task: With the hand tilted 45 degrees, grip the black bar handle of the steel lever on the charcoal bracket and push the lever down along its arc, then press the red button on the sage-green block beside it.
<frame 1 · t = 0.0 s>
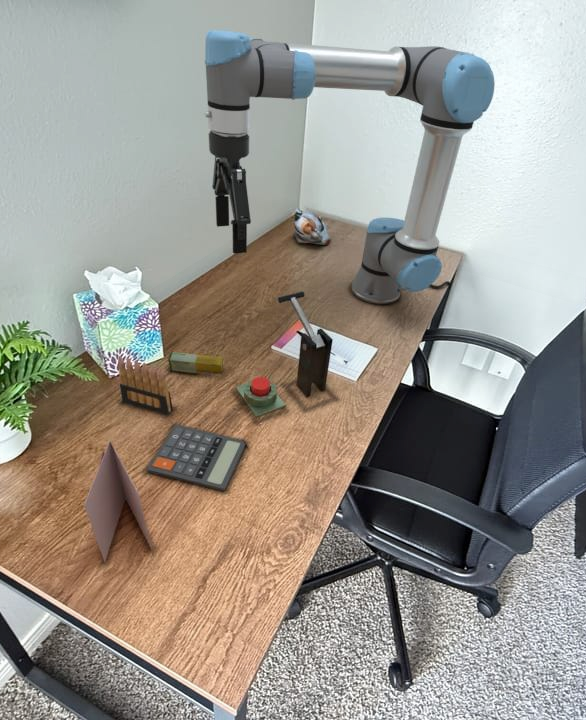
hand: (230, 238, 100), 28 cm above the table, tool pointing down, fingers open, 13 cm apart
greeting card: (133, 529, 76), on the table
lever: (304, 321, 99), point 16 cm above the table, hinge at 26.0°
button block: (260, 402, 102), on the table
ammunition clip: (147, 406, 98), on the table
calculator: (199, 457, 88), on the table
start button: (260, 386, 99), point 5 cm above the table, slide at 0.1 cm
medication box: (197, 372, 108), on the table
bracket: (310, 392, 106), on the table
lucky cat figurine: (310, 242, 169), on the table
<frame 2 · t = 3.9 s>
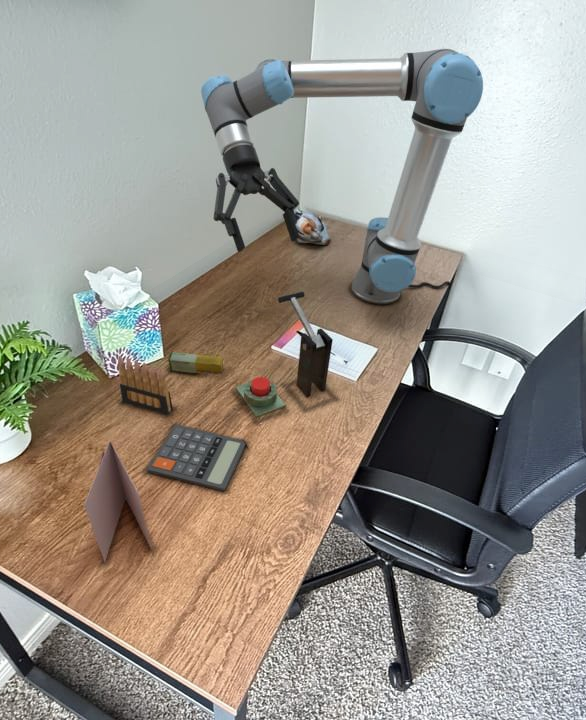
hand: (269, 244, 102), 27 cm above the table, tool tilted 45°, fingers open, 13 cm apart
nothing on the table moved.
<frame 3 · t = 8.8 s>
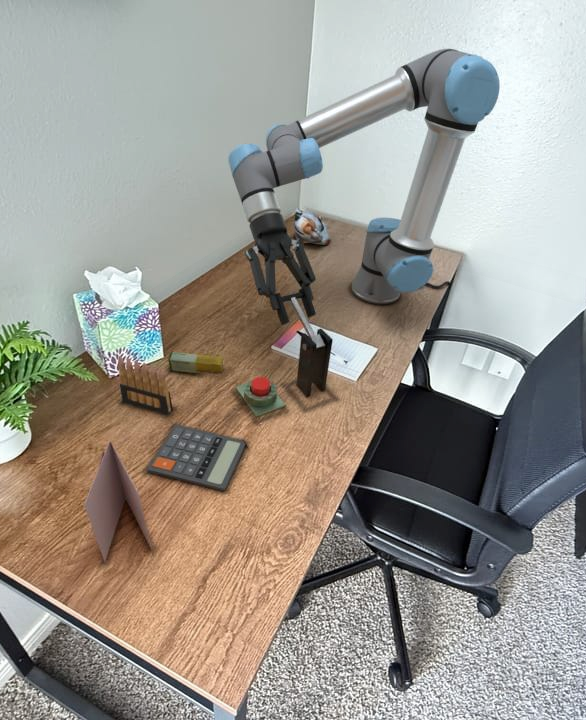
hand: (298, 319, 100), 16 cm above the table, tool tilted 45°, fingers closed on lever, 6 cm apart
lever: (304, 321, 99), point 16 cm above the table, hinge at 26.0°, touching gripper
everything else where it was.
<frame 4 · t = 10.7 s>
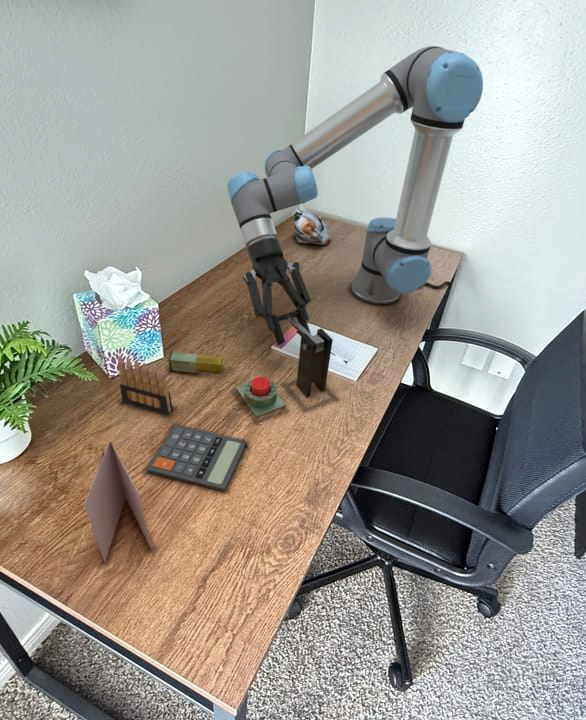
hand: (294, 339, 105), 10 cm above the table, tool tilted 45°, fingers closed on lever, 6 cm apart
lever: (302, 330, 101), point 14 cm above the table, hinge at -2.2°, touching gripper
everything else where it was.
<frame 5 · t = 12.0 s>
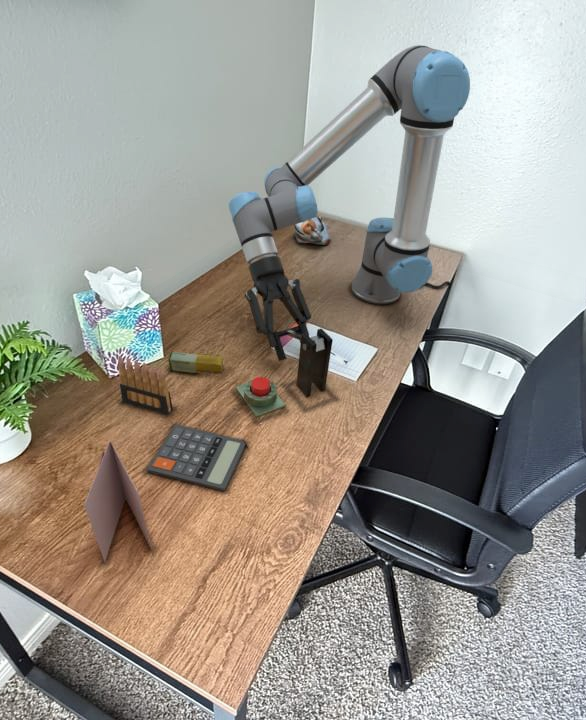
hand: (295, 355, 107), 6 cm above the table, tool tilted 45°, fingers closed on lever, 6 cm apart
lever: (302, 337, 102), point 12 cm above the table, hinge at -20.9°, touching gripper
everything else where it was.
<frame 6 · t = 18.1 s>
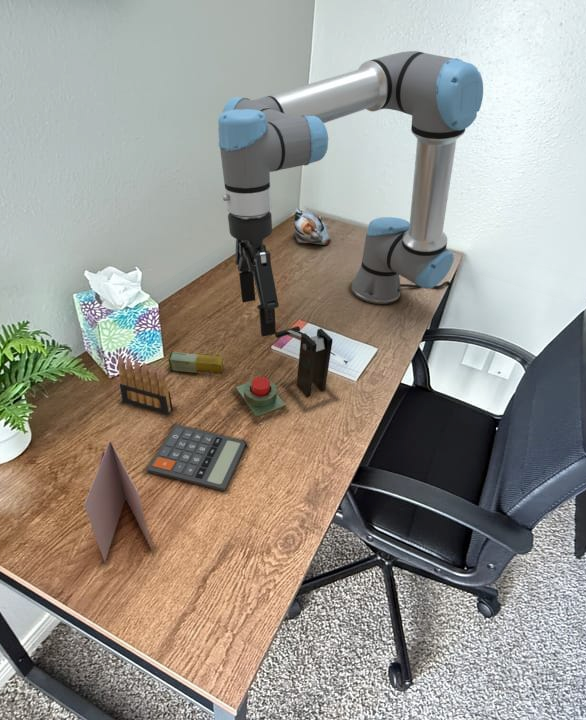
hand: (258, 316, 93), 19 cm above the table, tool pointing down, fingers open, 13 cm apart
lever: (302, 337, 102), point 12 cm above the table, hinge at -21.0°
everything else where it was.
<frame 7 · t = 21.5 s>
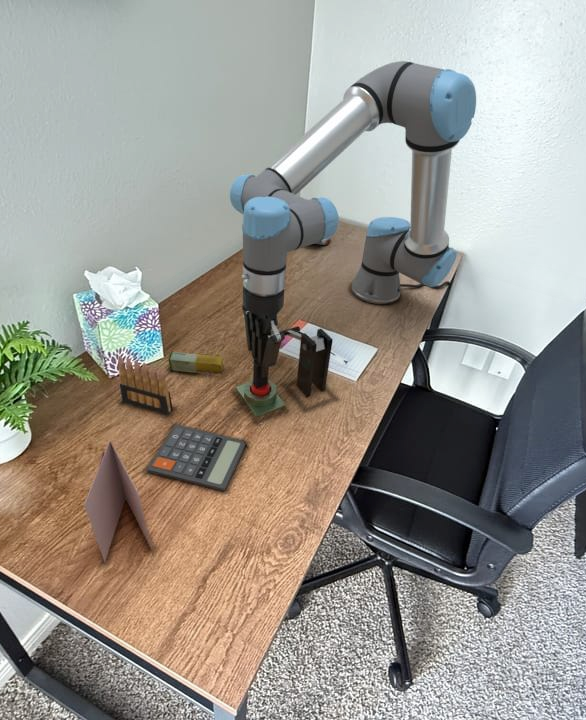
hand: (260, 384, 98), 5 cm above the table, tool pointing down, fingers closed
start button: (260, 388, 99), point 4 cm above the table, slide at -0.4 cm, touching gripper
everything else where it was.
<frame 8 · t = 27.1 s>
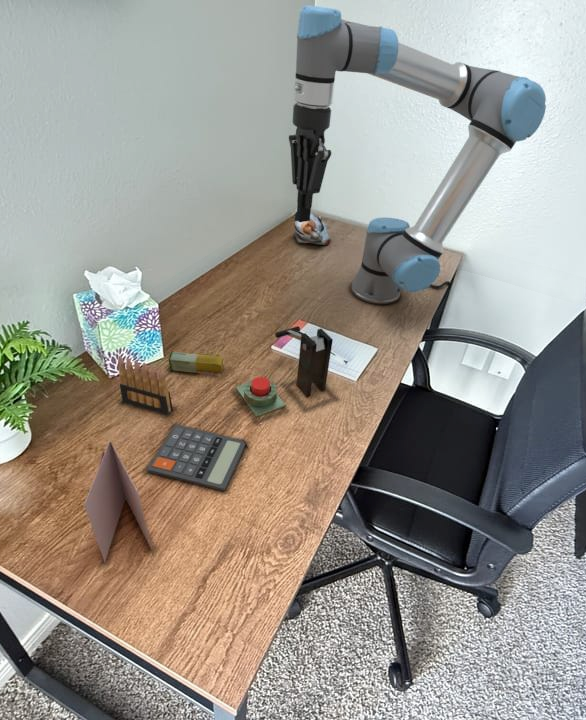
hand: (303, 220, 106), 30 cm above the table, tool pointing down, fingers closed
start button: (260, 386, 99), point 5 cm above the table, slide at 0.1 cm
everything else where it was.
at the end: lever at -21° (first picture: +26°); start button pushed in 1.1 cm at the most during the clip, back to where it started at the end; start button slide at 0.1 cm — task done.
